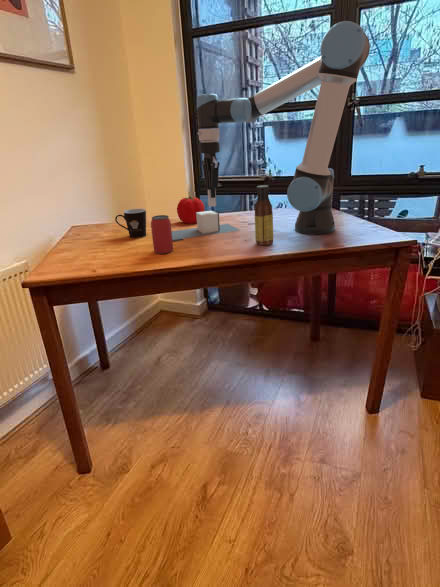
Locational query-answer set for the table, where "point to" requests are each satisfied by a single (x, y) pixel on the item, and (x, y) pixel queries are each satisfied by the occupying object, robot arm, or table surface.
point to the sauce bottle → (263, 217)
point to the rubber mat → (194, 232)
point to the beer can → (161, 234)
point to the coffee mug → (135, 222)
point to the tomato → (189, 209)
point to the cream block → (208, 221)
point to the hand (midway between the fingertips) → (212, 205)
